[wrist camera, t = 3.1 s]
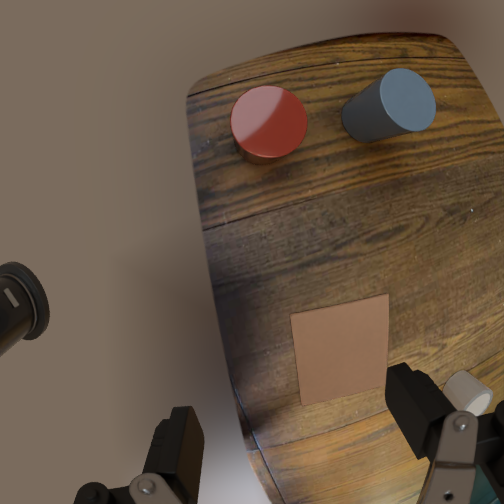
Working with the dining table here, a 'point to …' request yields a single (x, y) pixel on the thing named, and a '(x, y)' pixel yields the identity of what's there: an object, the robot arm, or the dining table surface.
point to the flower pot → (482, 490)
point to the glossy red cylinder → (267, 124)
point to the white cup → (467, 393)
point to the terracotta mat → (341, 348)
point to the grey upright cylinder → (390, 107)
